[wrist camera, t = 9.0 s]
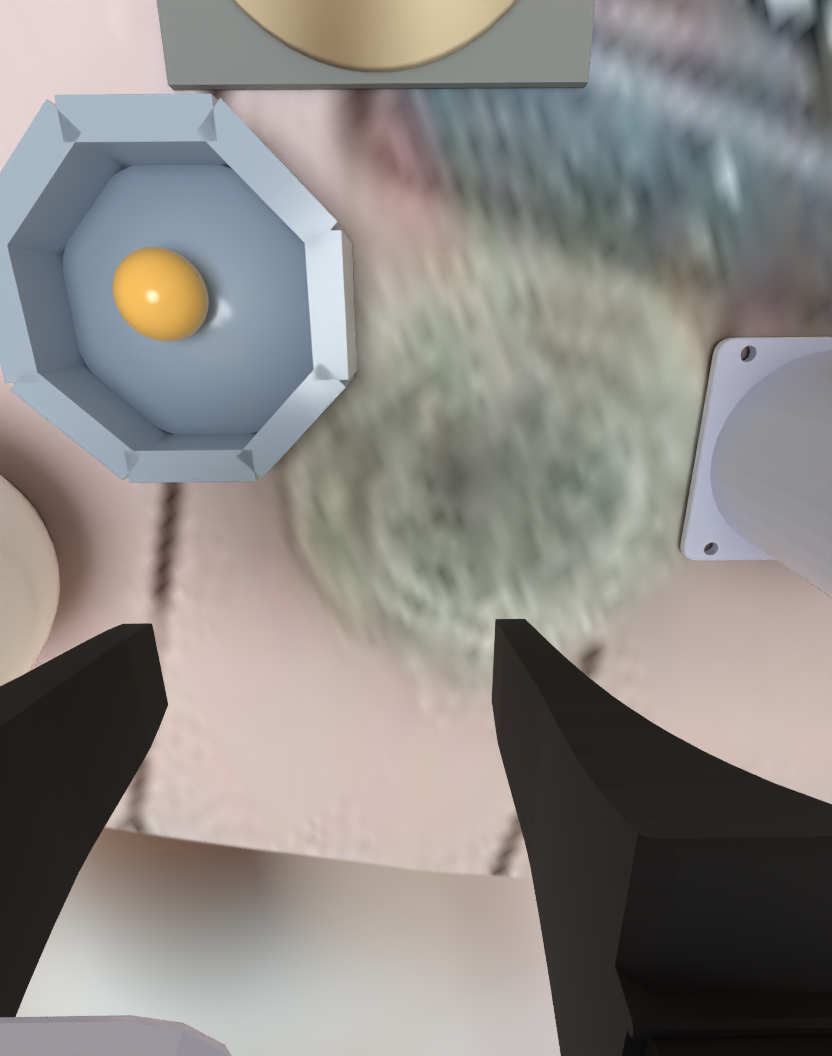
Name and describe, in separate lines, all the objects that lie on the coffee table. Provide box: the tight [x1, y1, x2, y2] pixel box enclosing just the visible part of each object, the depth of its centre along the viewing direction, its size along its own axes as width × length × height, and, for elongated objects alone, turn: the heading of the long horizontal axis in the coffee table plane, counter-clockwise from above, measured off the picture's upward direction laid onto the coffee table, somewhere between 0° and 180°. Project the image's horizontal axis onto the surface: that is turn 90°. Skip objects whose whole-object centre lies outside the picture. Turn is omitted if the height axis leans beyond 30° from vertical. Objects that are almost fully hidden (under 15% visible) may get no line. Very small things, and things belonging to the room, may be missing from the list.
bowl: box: [0, 94, 357, 483], centre depth 17 cm, size 10×10×3 cm
